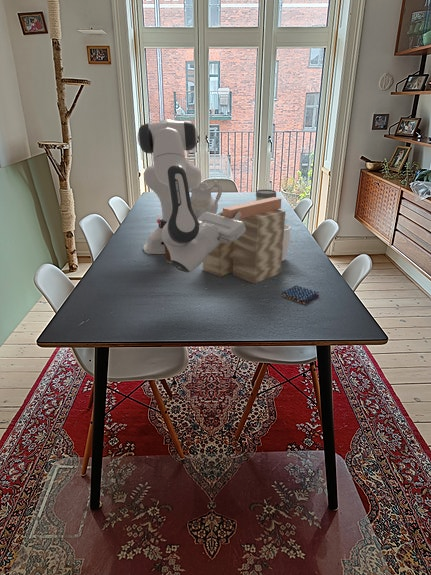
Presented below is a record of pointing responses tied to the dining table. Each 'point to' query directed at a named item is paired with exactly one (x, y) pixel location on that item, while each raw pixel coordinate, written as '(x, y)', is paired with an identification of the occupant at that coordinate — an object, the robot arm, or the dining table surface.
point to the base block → (220, 259)
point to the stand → (260, 246)
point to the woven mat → (300, 294)
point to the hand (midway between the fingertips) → (234, 211)
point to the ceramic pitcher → (205, 198)
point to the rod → (253, 208)
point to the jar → (286, 241)
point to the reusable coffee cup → (265, 194)
